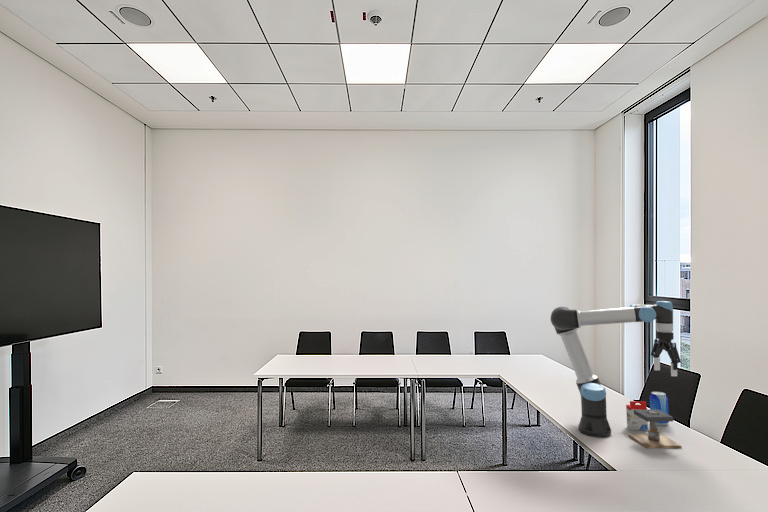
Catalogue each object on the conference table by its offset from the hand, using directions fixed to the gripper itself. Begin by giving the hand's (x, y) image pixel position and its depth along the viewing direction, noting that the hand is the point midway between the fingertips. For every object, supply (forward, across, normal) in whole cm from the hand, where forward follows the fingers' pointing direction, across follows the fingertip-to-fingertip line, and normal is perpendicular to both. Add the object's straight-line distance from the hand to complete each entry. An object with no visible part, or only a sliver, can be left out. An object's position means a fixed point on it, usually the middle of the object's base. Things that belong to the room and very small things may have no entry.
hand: (665, 373), depth 232 cm
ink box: (+30, +5, +12) cm, 33 cm away
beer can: (+29, +12, -4) cm, 32 cm away
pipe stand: (+29, -14, +15) cm, 36 cm away
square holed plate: (+18, -14, +15) cm, 28 cm away
